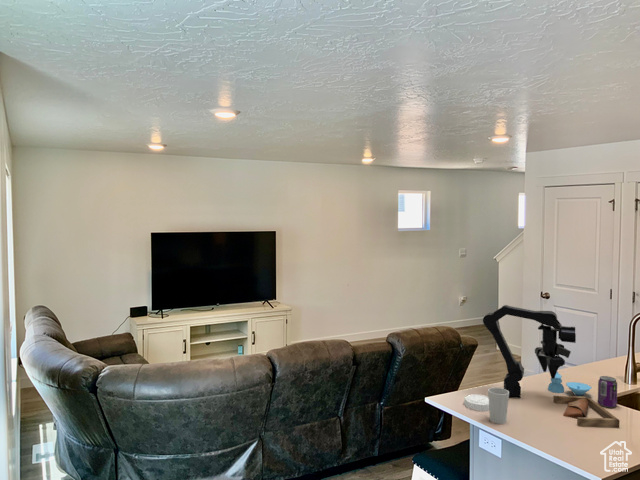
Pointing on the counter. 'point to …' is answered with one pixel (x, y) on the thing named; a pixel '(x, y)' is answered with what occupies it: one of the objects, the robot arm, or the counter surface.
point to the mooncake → (477, 402)
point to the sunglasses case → (577, 409)
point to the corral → (607, 418)
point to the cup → (498, 404)
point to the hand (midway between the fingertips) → (548, 374)
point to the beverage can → (607, 391)
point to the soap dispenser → (573, 386)
